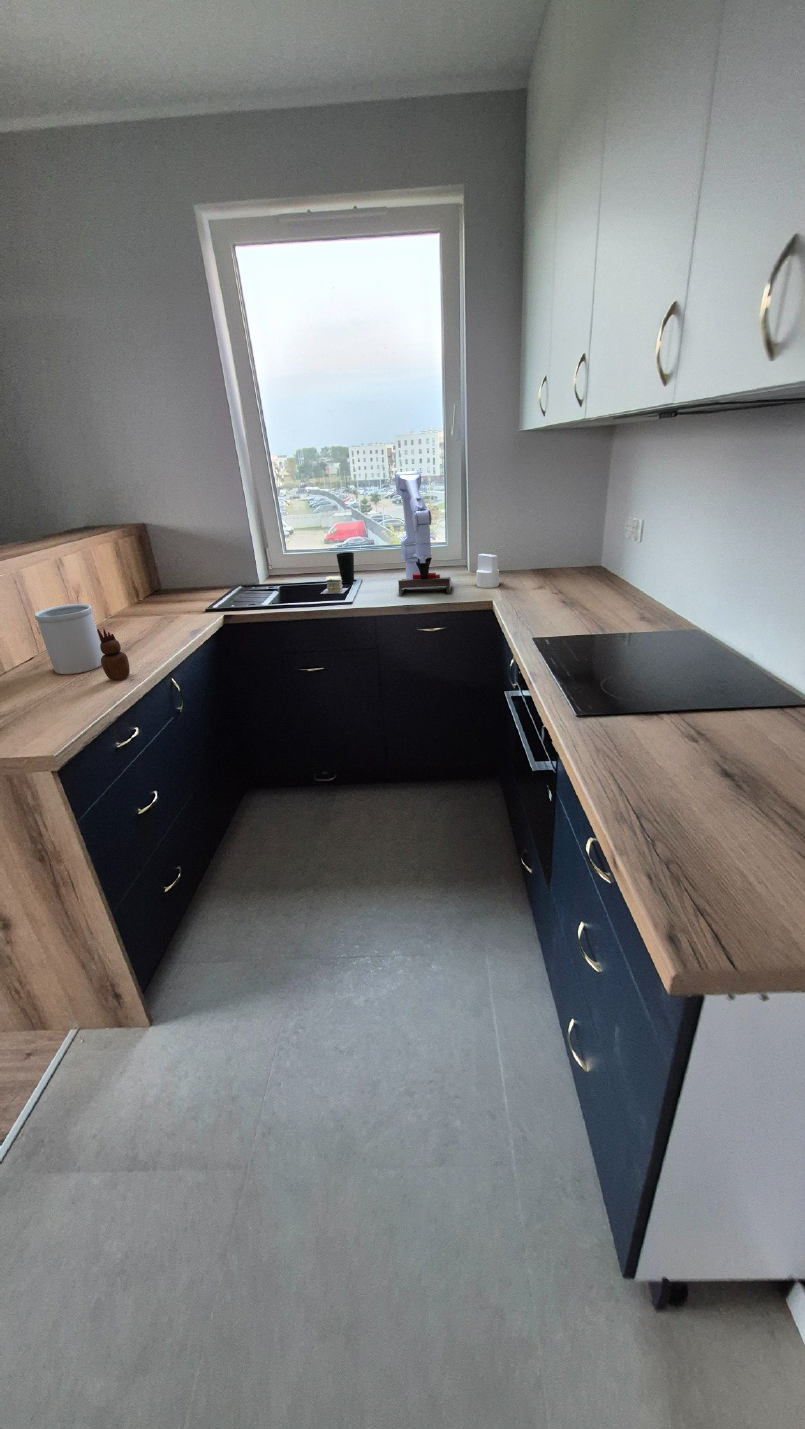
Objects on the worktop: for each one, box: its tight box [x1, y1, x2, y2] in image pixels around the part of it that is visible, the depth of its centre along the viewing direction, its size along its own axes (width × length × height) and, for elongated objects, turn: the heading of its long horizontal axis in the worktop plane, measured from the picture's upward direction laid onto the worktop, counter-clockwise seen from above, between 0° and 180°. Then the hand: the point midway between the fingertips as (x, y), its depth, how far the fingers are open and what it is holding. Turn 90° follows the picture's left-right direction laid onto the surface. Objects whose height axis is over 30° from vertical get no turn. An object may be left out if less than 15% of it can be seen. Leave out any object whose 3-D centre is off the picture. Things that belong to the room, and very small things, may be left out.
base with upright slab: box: [476, 553, 500, 589], centre depth 231 cm, size 9×9×12 cm
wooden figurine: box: [96, 628, 131, 681], centre depth 158 cm, size 7×6×15 cm
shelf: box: [397, 576, 452, 597], centre depth 230 cm, size 12×20×6 cm, turn 84°
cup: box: [336, 551, 355, 583], centre depth 256 cm, size 8×8×12 cm
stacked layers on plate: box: [320, 575, 349, 595], centre depth 241 cm, size 10×9×6 cm
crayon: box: [413, 572, 441, 580], centre depth 229 cm, size 3×11×3 cm, turn 84°
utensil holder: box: [33, 603, 104, 675], centre depth 170 cm, size 15×15×18 cm
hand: (424, 578), depth 229 cm, fingers open, 5 cm apart
